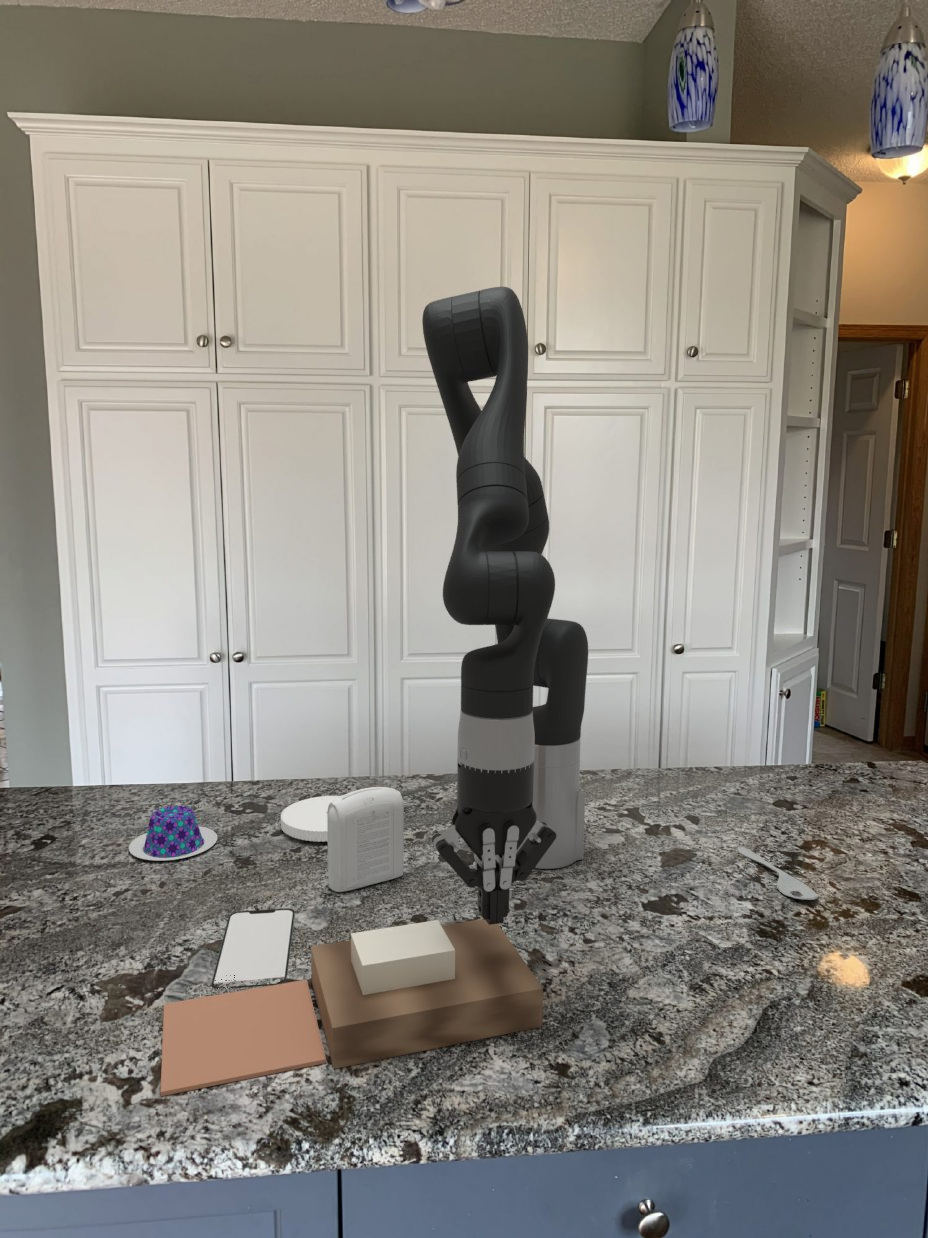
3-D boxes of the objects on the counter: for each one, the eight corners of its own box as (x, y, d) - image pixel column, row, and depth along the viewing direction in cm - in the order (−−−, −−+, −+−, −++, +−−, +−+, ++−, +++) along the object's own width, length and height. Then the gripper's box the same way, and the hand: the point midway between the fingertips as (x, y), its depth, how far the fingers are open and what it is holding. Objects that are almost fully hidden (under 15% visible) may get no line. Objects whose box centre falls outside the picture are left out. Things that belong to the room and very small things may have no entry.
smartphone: (287, 989, 89) (295, 911, 105) (286, 985, 89) (295, 907, 105) (208, 995, 88) (229, 915, 104) (208, 990, 88) (229, 911, 104)
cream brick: (437, 947, 89) (437, 920, 89) (455, 978, 83) (455, 950, 83) (351, 961, 86) (350, 933, 86) (363, 995, 81) (362, 965, 80)
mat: (306, 983, 90) (306, 979, 90) (326, 1063, 77) (326, 1059, 77) (164, 1007, 85) (164, 1004, 85) (160, 1096, 73) (160, 1092, 73)
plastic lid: (362, 806, 139) (362, 791, 138) (386, 840, 126) (385, 823, 125) (274, 817, 134) (274, 802, 133) (289, 854, 121) (288, 837, 121)
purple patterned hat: (109, 857, 120) (107, 821, 119) (168, 825, 131) (166, 792, 130) (180, 871, 115) (178, 834, 115) (234, 837, 126) (233, 803, 126)
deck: (493, 951, 96) (493, 917, 95) (542, 1026, 83) (543, 988, 82) (311, 982, 90) (310, 946, 89) (333, 1069, 77) (332, 1028, 76)
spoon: (797, 912, 106) (797, 899, 105) (716, 842, 125) (716, 832, 125) (827, 908, 106) (828, 895, 106) (742, 840, 126) (742, 829, 126)
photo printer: (393, 865, 117) (392, 777, 115) (409, 877, 114) (408, 787, 112) (323, 884, 111) (320, 792, 109) (337, 897, 108) (335, 803, 106)
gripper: (544, 739, 90) (540, 895, 93) (420, 749, 86) (420, 912, 89) (573, 761, 83) (568, 929, 86) (440, 772, 79) (439, 949, 82)
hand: (492, 920), depth 87 cm, fingers closed
